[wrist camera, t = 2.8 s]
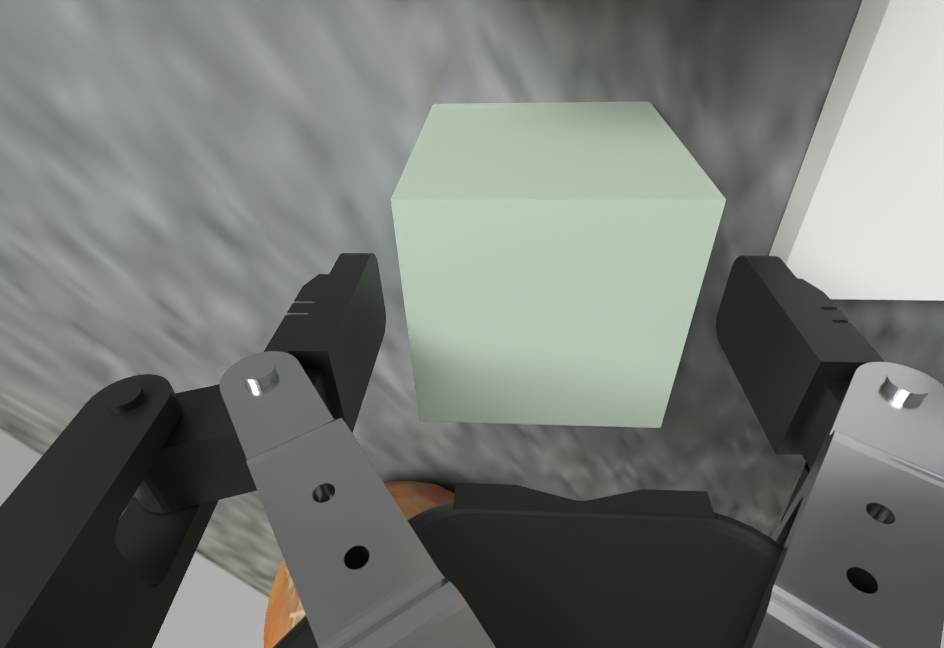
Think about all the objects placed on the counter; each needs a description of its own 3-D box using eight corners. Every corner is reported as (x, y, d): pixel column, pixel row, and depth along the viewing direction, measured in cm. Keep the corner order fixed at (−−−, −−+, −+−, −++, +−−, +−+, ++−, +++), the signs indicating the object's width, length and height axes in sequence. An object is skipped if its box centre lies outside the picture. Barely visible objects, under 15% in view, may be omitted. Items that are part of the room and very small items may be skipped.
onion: (410, 397, 20) (344, 704, 12) (560, 516, 24) (582, 800, 16) (266, 486, 24) (147, 756, 16) (414, 574, 29) (377, 822, 21)
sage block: (433, 103, 14) (390, 199, 9) (648, 100, 13) (725, 199, 8) (445, 281, 17) (419, 421, 12) (618, 283, 16) (660, 427, 12)
